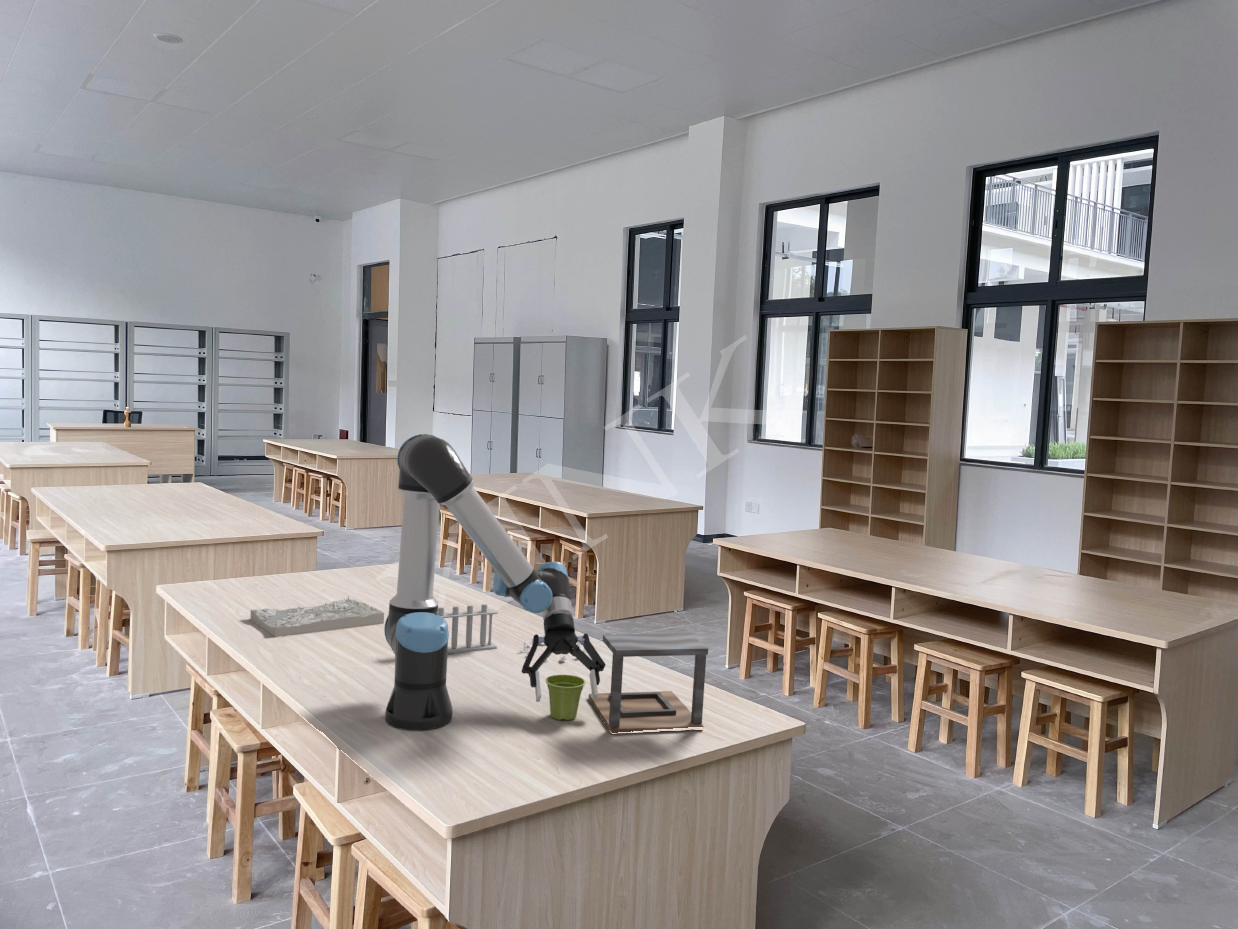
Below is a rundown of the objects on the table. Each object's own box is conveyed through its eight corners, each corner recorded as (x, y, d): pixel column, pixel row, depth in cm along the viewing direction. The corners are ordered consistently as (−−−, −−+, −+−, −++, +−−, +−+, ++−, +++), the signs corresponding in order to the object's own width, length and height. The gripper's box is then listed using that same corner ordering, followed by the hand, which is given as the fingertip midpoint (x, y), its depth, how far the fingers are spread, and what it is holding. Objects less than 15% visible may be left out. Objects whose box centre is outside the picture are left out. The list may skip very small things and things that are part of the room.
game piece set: (521, 643, 270) (522, 631, 270) (586, 645, 272) (587, 633, 272) (519, 663, 251) (519, 649, 251) (589, 665, 253) (590, 652, 252)
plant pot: (562, 706, 217) (564, 671, 216) (591, 716, 211) (593, 681, 211) (535, 715, 210) (537, 679, 209) (564, 726, 204) (566, 689, 203)
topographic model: (383, 625, 283) (384, 610, 283) (275, 639, 262) (275, 622, 261) (353, 609, 301) (354, 594, 301) (250, 621, 280) (250, 605, 279)
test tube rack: (414, 657, 250) (416, 611, 249) (409, 653, 254) (411, 607, 253) (496, 649, 263) (498, 605, 262) (491, 645, 266) (493, 601, 265)
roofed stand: (588, 698, 224) (592, 622, 222) (671, 695, 229) (675, 621, 228) (611, 734, 201) (616, 650, 199) (703, 730, 206) (708, 648, 205)
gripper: (603, 626, 228) (615, 703, 214) (506, 627, 221) (512, 707, 208) (609, 610, 222) (621, 689, 209) (510, 612, 216) (516, 692, 203)
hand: (567, 698), depth 208 cm, fingers open, 13 cm apart
